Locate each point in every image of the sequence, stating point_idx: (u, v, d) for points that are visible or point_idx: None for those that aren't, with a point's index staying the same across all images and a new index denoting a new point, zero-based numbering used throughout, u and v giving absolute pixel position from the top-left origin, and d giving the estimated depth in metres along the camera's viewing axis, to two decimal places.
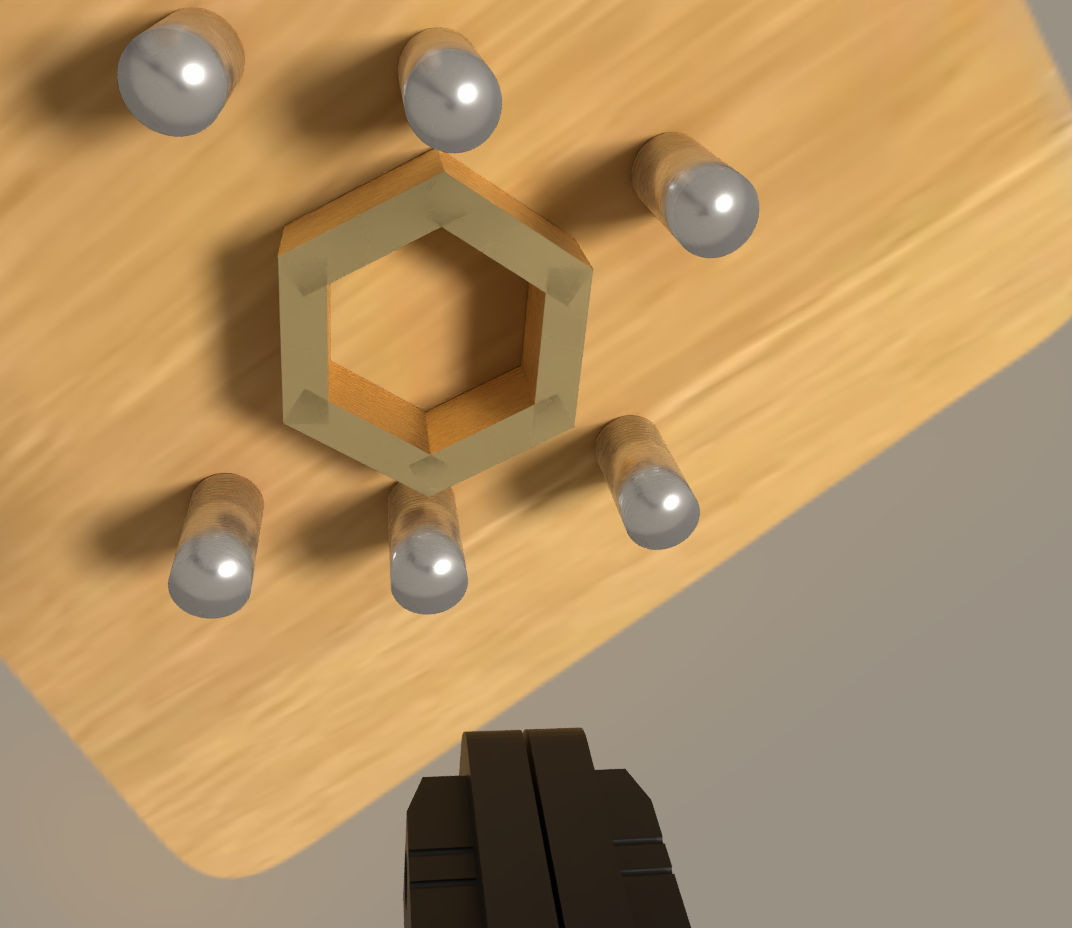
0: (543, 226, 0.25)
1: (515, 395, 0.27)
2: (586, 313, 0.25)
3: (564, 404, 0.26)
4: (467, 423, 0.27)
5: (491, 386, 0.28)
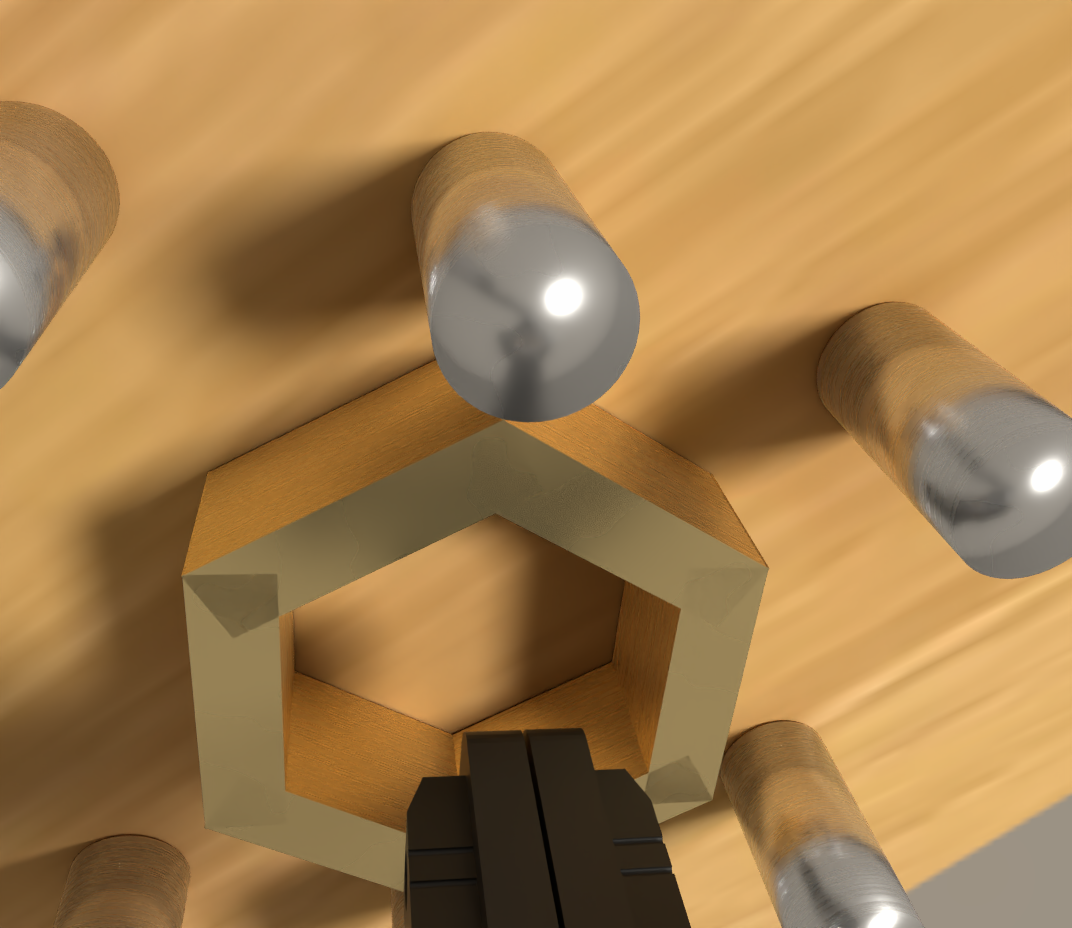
0: (671, 477, 0.14)
1: (609, 737, 0.16)
2: (750, 636, 0.14)
3: (699, 769, 0.15)
4: None
5: (563, 700, 0.17)
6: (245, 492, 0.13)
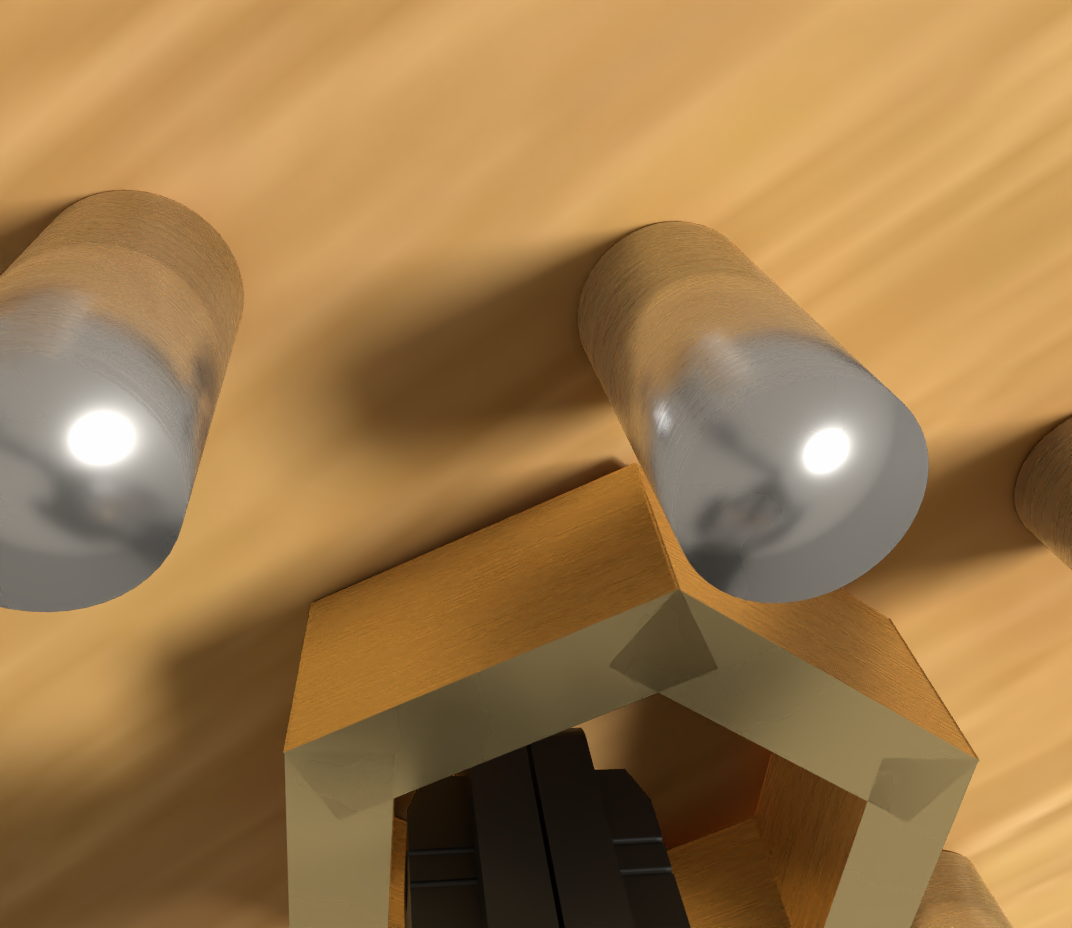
0: (855, 637, 0.12)
1: (755, 919, 0.14)
2: (946, 833, 0.12)
3: None
4: None
5: (696, 862, 0.15)
6: (357, 641, 0.11)
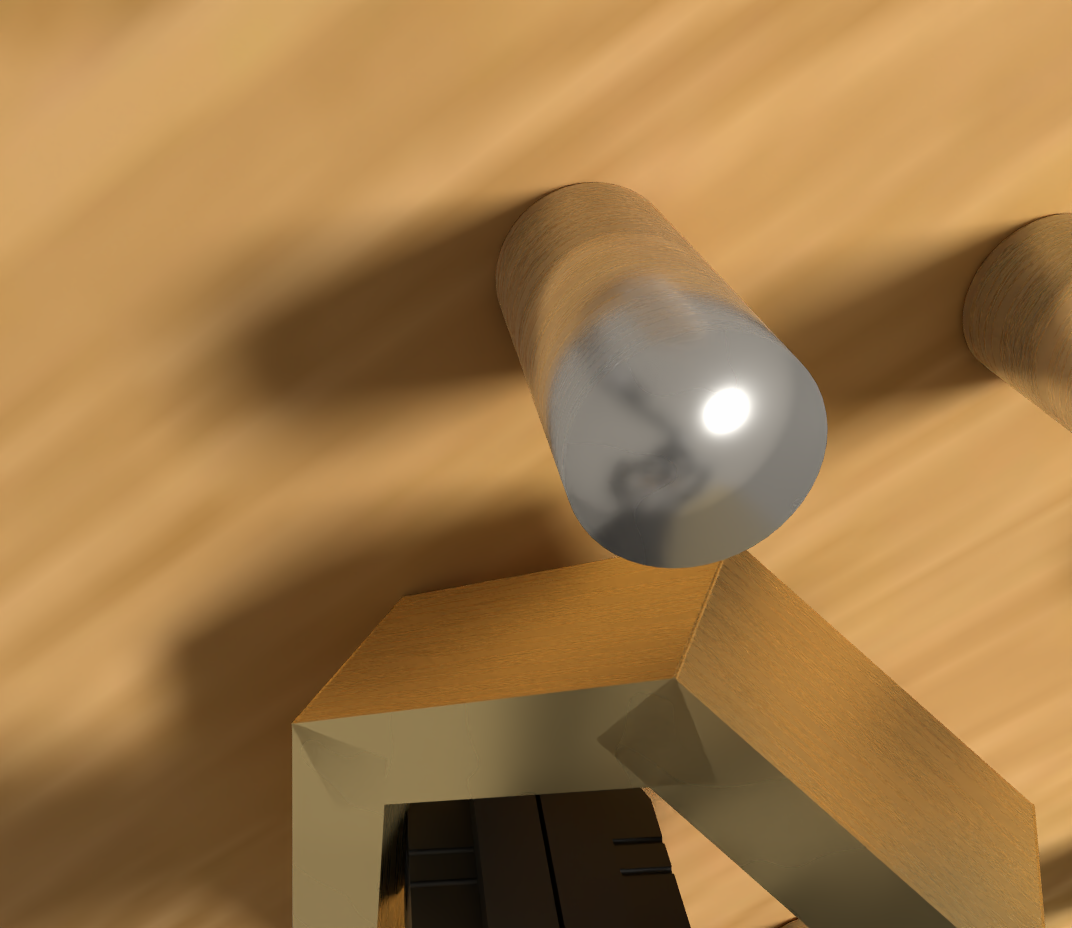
0: (944, 807, 0.10)
1: None
2: None
3: None
4: None
5: None
6: (406, 642, 0.11)
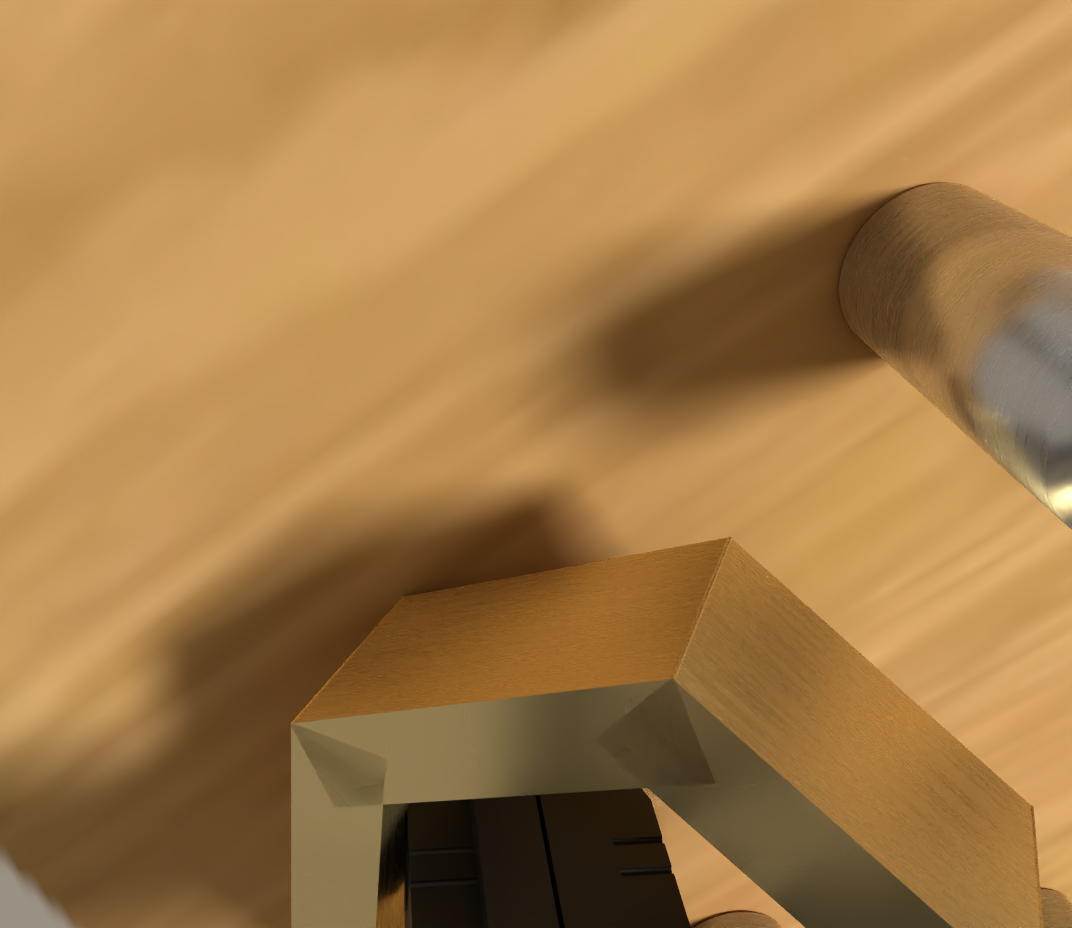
0: (943, 808, 0.10)
1: None
2: None
3: None
4: None
5: None
6: (405, 642, 0.11)
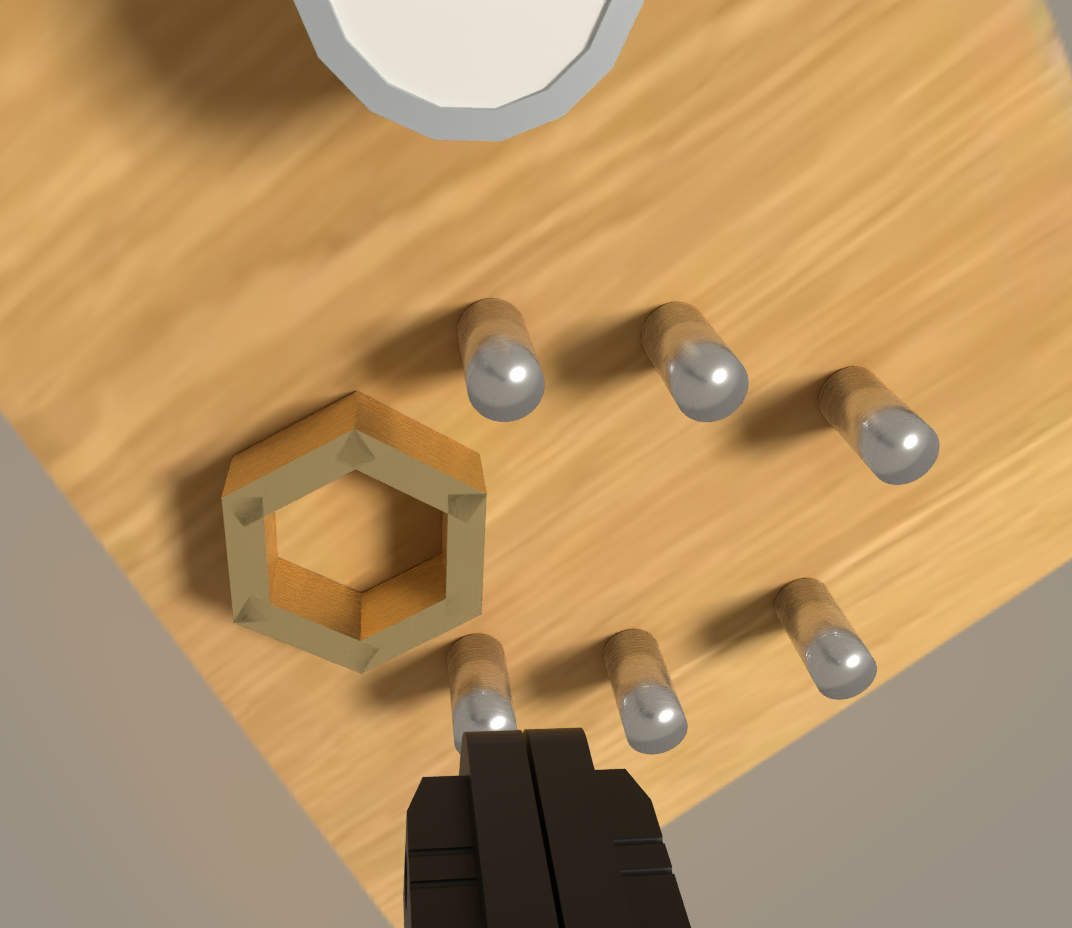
0: (447, 454, 0.30)
1: (432, 586, 0.32)
2: (484, 527, 0.30)
3: (471, 597, 0.31)
4: (392, 611, 0.32)
5: (415, 573, 0.33)
6: (249, 463, 0.29)
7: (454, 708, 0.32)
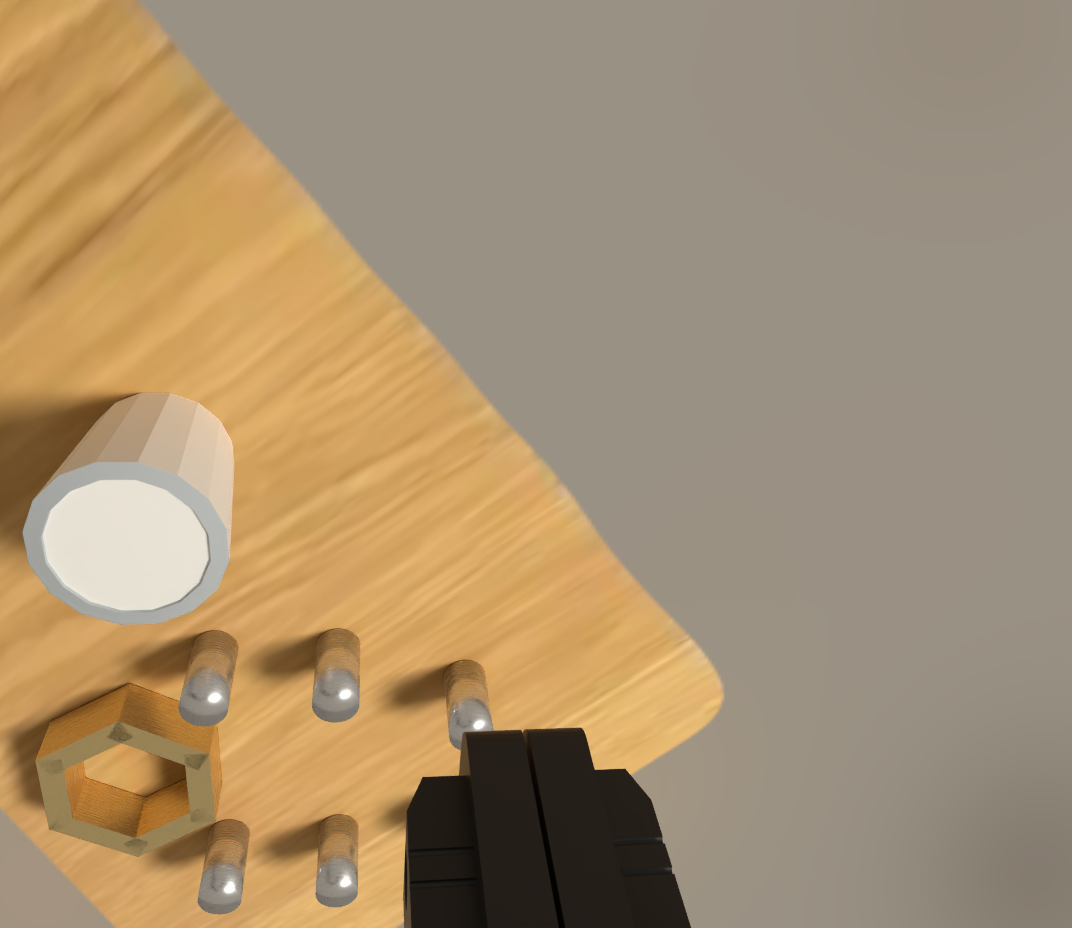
0: (187, 724, 0.47)
1: (185, 800, 0.49)
2: (210, 772, 0.47)
3: (207, 811, 0.48)
4: (158, 816, 0.48)
5: (179, 786, 0.50)
6: (57, 732, 0.46)
7: (201, 878, 0.49)
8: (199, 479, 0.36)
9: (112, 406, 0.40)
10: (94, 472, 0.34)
